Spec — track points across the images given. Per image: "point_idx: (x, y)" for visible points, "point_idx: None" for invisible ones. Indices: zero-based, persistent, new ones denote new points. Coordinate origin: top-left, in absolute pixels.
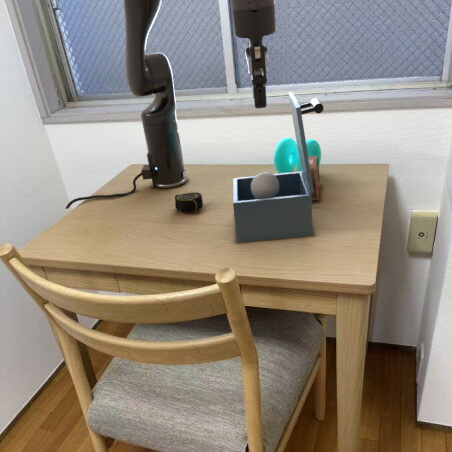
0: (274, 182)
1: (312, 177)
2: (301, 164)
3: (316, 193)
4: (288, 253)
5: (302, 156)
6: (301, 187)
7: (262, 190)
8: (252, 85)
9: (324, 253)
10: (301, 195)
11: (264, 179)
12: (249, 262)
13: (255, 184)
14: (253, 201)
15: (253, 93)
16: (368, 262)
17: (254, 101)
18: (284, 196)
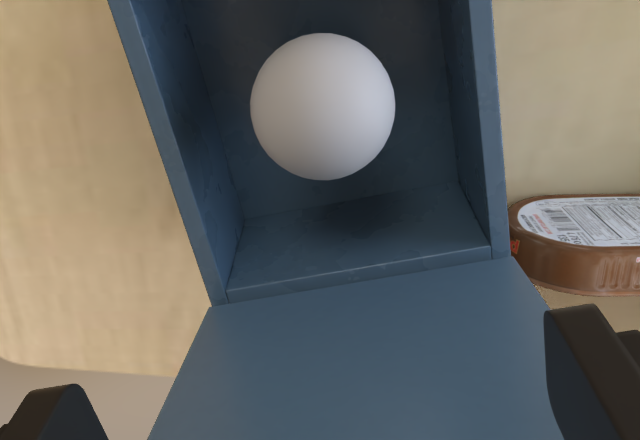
0: (289, 170)
1: (533, 268)
2: (437, 292)
3: None
4: (104, 165)
5: (265, 367)
6: (412, 236)
7: (250, 108)
8: (613, 418)
9: (123, 265)
10: (210, 273)
11: (272, 132)
12: (16, 42)
13: (267, 77)
14: (134, 79)
15: (567, 345)
16: (92, 363)
17: (3, 433)
18: (461, 138)
